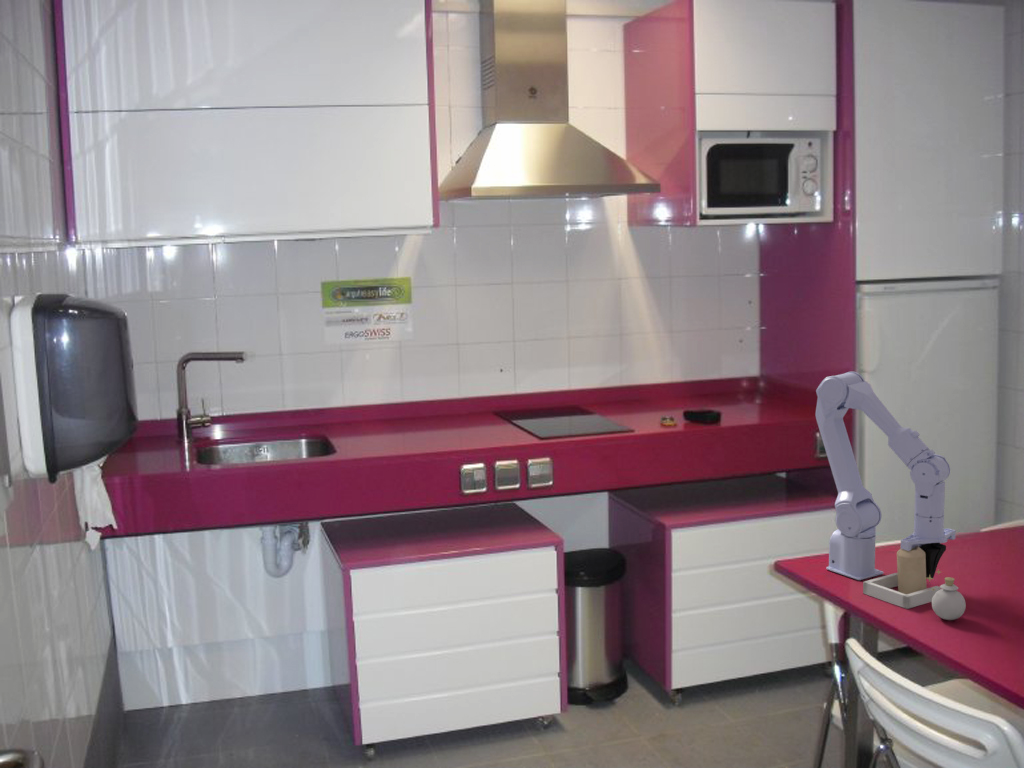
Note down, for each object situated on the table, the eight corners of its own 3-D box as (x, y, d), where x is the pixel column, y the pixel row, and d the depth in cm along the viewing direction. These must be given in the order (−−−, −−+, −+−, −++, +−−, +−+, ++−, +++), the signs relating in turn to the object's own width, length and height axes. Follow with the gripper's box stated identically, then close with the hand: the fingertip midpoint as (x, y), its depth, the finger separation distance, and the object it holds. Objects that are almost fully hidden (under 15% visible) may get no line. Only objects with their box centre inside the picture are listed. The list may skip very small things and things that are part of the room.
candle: (898, 597, 214) (896, 550, 212) (897, 586, 219) (895, 541, 217) (927, 597, 212) (926, 551, 210) (925, 587, 217) (924, 541, 215)
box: (863, 593, 216) (863, 581, 216) (895, 584, 221) (896, 572, 221) (907, 609, 207) (907, 596, 206) (940, 599, 211) (940, 587, 211)
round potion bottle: (967, 625, 197) (969, 575, 196) (925, 623, 199) (927, 573, 198) (962, 614, 203) (963, 564, 202) (921, 612, 205) (923, 563, 203)
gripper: (921, 524, 208) (919, 589, 210) (969, 513, 215) (966, 576, 217) (892, 516, 214) (891, 580, 216) (940, 505, 221) (938, 567, 223)
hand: (927, 577), depth 217 cm, fingers closed
